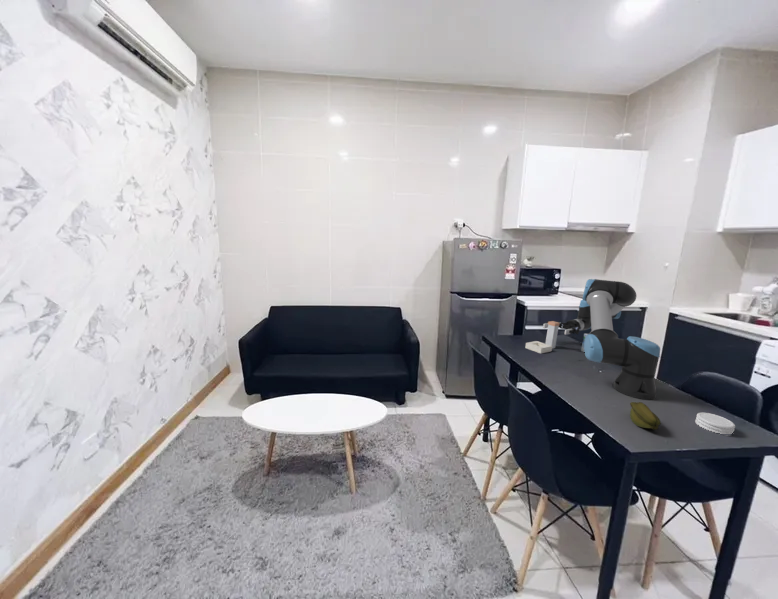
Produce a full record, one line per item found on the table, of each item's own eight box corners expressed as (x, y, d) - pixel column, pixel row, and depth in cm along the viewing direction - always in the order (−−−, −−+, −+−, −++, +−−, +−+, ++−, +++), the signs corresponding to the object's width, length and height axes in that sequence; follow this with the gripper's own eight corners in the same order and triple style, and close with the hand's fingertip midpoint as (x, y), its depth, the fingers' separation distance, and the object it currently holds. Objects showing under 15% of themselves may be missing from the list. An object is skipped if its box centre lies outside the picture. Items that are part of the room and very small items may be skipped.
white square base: (551, 352, 193) (552, 346, 192) (540, 355, 187) (541, 348, 187) (535, 347, 201) (536, 340, 200) (525, 349, 196) (526, 342, 195)
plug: (555, 349, 199) (559, 322, 196) (550, 350, 197) (555, 323, 194) (548, 347, 203) (552, 321, 200) (544, 348, 201) (548, 321, 197)
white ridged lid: (714, 421, 126) (716, 412, 125) (741, 437, 116) (744, 427, 115) (687, 419, 126) (689, 411, 125) (712, 435, 116) (714, 426, 115)
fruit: (616, 419, 122) (620, 402, 121) (632, 412, 129) (636, 396, 127) (653, 436, 113) (658, 418, 112) (668, 427, 119) (673, 410, 118)
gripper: (594, 337, 201) (573, 341, 190) (554, 326, 221) (534, 329, 210) (596, 324, 199) (576, 328, 188) (556, 315, 220) (536, 317, 209)
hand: (554, 329), depth 199 cm, fingers open, 13 cm apart
